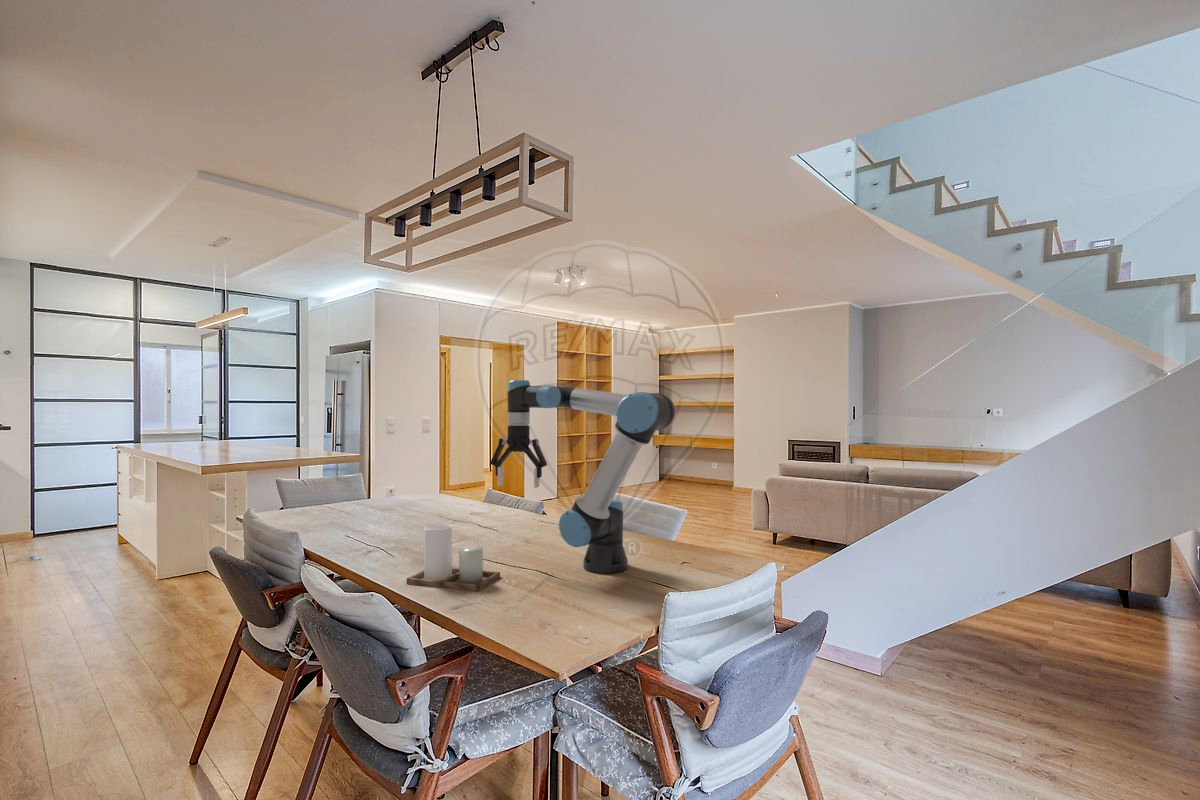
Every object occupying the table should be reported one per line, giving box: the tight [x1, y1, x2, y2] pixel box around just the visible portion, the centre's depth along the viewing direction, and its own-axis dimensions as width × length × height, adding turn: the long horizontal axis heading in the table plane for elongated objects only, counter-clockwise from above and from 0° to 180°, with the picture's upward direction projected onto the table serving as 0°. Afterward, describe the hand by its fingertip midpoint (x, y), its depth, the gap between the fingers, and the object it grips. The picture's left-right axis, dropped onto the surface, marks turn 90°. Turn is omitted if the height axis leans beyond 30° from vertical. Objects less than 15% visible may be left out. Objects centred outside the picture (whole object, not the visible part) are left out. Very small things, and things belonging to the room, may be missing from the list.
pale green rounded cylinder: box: [458, 545, 484, 585], centre depth 172 cm, size 7×7×10 cm
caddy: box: [406, 567, 501, 592], centre depth 173 cm, size 24×14×2 cm, turn 74°
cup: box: [423, 523, 453, 581], centre depth 175 cm, size 8×8×16 cm
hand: (518, 486), depth 195 cm, fingers open, 13 cm apart
